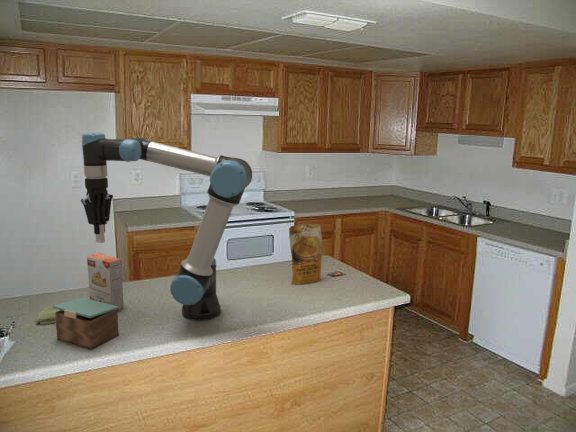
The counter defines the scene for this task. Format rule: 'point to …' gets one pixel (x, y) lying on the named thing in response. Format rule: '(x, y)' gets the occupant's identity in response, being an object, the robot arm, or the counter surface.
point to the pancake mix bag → (306, 252)
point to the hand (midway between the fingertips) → (100, 242)
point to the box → (87, 329)
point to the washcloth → (47, 316)
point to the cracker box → (105, 279)
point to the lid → (84, 308)
